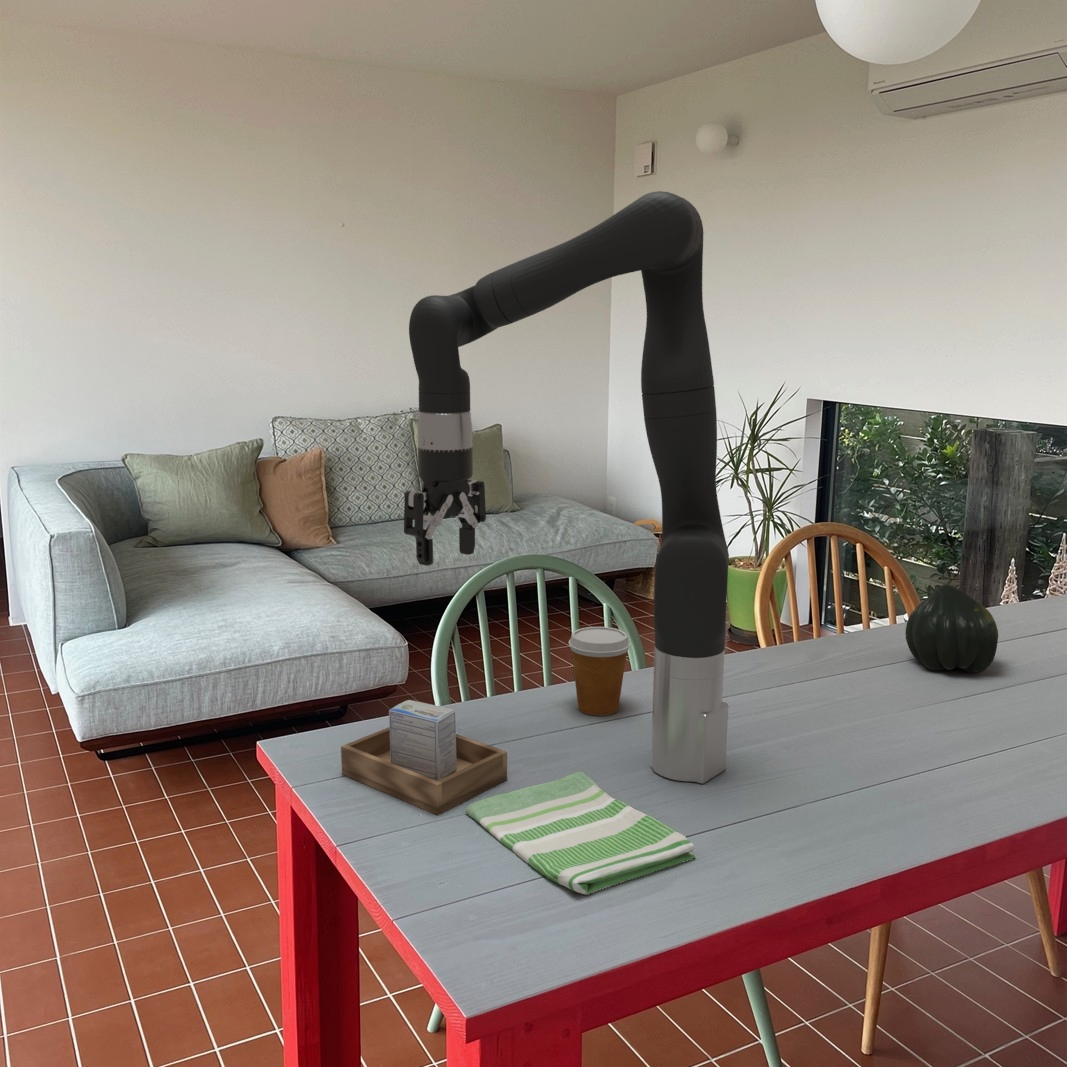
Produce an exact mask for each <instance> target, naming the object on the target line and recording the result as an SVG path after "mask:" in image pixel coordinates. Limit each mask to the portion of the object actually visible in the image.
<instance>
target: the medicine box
mask: <svg viewBox="0 0 1067 1067" xmlns="http://www.w3.org/2000/svg"><path fill="white" fill-rule="evenodd" d="M388 719H389V720H388V724H389V728H390V759H391V763H393V764H396V765H398V766H401V767H403V768H406V769H408V770H411V771H413V772H416V773H418V774H421V775H423V776H426V777H428V778H431V779H433V780H436V781H438V780H441V779H443V778H445V777H446V776H448V775H449V774H450V773H452V772H453V771H455V770H456V769H457V759H456V734H457V733H456V732H457V731H456V729H457V728H456V710H454V709H453V708H448V707H443V706H440V705H436V704H430V703H426V702H422V701H417V700H413V699H412V700H411V699H407V700H405V701H403V702H401V703H398V704H397V705H395V706H394V707H392V708H390V709H389V710H388Z"/></svg>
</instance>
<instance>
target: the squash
mask: <svg viewBox="0 0 1067 1067" xmlns="http://www.w3.org/2000/svg"><path fill="white" fill-rule="evenodd" d="M905 640H906V643H907V646H908V649H909V651H910V653H911V654H912V656H913V657H914V658H915V660H916V661H917V662H919V663H920V664H922V665H924V666H925V667H926V668H928V669H930V670H933V671H941V670H942V671H943V670H944V669H946V670H950V671H951V670H954V669H955V668H956V667H957V668H959V669H962V670H963V671H964V672H967V673H972V674H973V673H980V672H983V671H985V670H986V669H988V668H989V667H990V665H991V664H992V663H993V661H994V660H995V657H996V652H997V649H998V642H999V630H998V626H997V623H996V621H995V619H994V616H993V615H992V613H991V612H990V610H988V609H987V608H986V607H985V606H984V605H982V604H981V602H979V601H977V600H976V599H975V598H974V597H972V596H970V595H969V594H967V593H965V592H964V591H962V590H961V589H959V588H957V587H955V586H953V585H950V584H949V583H945V584H943V585H941V586H940V587H938V588H936V589H935V591H933V592H932V593H931V594H930V595H929V596H927V597H926V598H925V599H924V600H923V601H922V602H920V603H919V604H918V605H917V606H916V607H915V608H914V609H913V611H911V613H910V615H909V617H908V619H907V622H906V626H905Z"/></svg>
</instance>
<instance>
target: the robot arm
mask: <svg viewBox="0 0 1067 1067" xmlns="http://www.w3.org/2000/svg"><path fill="white" fill-rule="evenodd" d="M703 226H704V225H703V221H702V217H701V215H700V213H699V212H698V210H697V208H696V207H695V206H694V205H693V204H692V202H690V201H689V200H687V199H686V198H685V197H681V196H680V195H677V194H675V193H672V192H669V191H660V190H659V191H651V192H648V193H646V194H644V195H642V196H640V197H638V198H637V199H635V200H634V201H633V202H631V203H629V204H628V205H627V206H625V207H624V208H622V209H621V210H619V211H617V212H616V213H615V214H613V215H611V216H610V217H608V218H607V219H605V220H603V221H602V222H600V223H599V224H597V225H596V226H593V227H592V228H590V229H588V230H587V231H585V232H583V233H581V234H578V235H577V236H574V237H573V238H571V239H568V240H566V241H565V242H562V243H560V244H557V245H555V246H553V247H551V248H548V249H546V250H542V251H541V252H537V253H535V254H533V255H530V256H528V257H525V258H524V259H520V260H518V261H516V262H514V263H511V264H508V265H506V266H504V267H501V268H499V269H496V270H495V271H493V272H491V273H488V274H486V275H484V276H483V277H481V278H480V279H479V280H478V281H476V282H475V285H472V286H470V287H468V288H466V289H464V290H460V291H458V292H456V293H453V294H450V295H438V294H437V295H427V296H425V297H423V298H421V299H419V300H418V301H417V303H416V304H415V305H414V306H413V308H412V310H411V313H410V316H409V323H408V336H409V344H410V349H411V352H412V358H413V364H414V367H415V371H416V374H417V378H418V411H419V412H418V420H417V462H418V463H417V471H418V472H417V474H418V477H419V478H420V480H421V481H422V486H421V488H422V489H421V491H411V490H406V491H405V493H404V505H403V506H404V508H403V510H404V512H403V515H404V516H403V533H404V534H405V535H408V536H411V537H414V538H415V546H416V548H415V551H416V554H415V555H416V560H417V562H418V564H420V565H422V566H428V567H429V566H431V565H433V563H434V546H433V545H434V544H433V543H434V542H433V540H434V539H433V538H432V537H433V535H434V534H435V532H436V531H435V530H436V529H437V527H438V526H440V525H441V524H442V522H443V520H444V519H445V520H446V519H449V518H450V517H455V519H456V520H457V522H458V524H459V525H460V526H461V527H459V528H458V531H459V532H458V535H459V536H458V540H459V541H458V544H459V546H458V549H459V551H458V552H460V553H461V554H463V555H466V556H469V555H473V554H474V553H475V548H476V528H477V527H478V525H479V524H480V523H484V522H486V520H487V516H486V514H487V513H486V512H487V510H486V508H487V507H486V494H485V493H486V492H485V491H486V490H485V487H486V486H485V482H484V481H482V480H481V481H480V480H476V479H471V478H472V477H473V475H474V472H473V470H474V466H473V465H474V462H473V461H474V460H473V459H474V458H473V456H474V455H473V424H472V417H471V416H472V414H471V382H470V377H469V373H468V372H467V371H466V370H465V369H463V368H462V367H461V360H460V358H461V357H460V352H459V351H460V350H459V347H463V346H465V345H469V344H470V343H473V342H475V341H477V340H479V339H481V338H483V337H485V336H487V335H488V334H490V333H492V332H494V331H495V330H498V329H499V328H502V327H505V326H508V325H509V326H510V325H512V324H513V323H516V322H518V321H521V320H523V319H526V318H528V317H531V316H533V315H535V314H538V313H540V312H544V311H545V310H547V309H549V308H551V307H554V306H555V305H557V304H559V303H560V302H563V301H564V300H567V299H568V298H569V297H571V296H573V295H575V294H577V293H579V292H581V291H582V290H585V289H586V288H588V287H591V286H592V285H595V284H597V283H601V282H603V281H605V280H608V279H612V278H613V277H618V276H621V275H622V276H623V275H627V274H629V273H634V272H641V277H642V284H643V289H644V297H645V298H644V299H645V305H646V325H645V335H644V342H643V347H642V348H643V350H642V358H641V370H640V386H641V387H640V390H641V400H642V409H643V410H642V411H643V420H644V427H645V433H646V438H647V442H648V446H649V447H648V448H649V450H650V454H651V458H652V461H653V465H654V468H655V472H656V475H657V478H658V483H659V488H660V496H661V521H662V523H661V527H662V528H661V544H660V548H659V551H658V553H657V556H656V558H655V559H656V560H655V564H654V565H655V566H654V583H653V584H654V585H653V586H654V587H653V591H654V593H653V630H654V654H653V656H654V658H653V660H654V661H653V684H652V685H653V688H652V690H653V691H652V715H651V716H652V722H651V723H652V724H651V749H650V750H651V751H650V752H651V753H650V754H651V756H650V757H651V760H650V761H651V762H650V765H651V769H652V770H653V771H654V773H656V774H658V775H660V776H661V777H662V778H663V777H664V778H667V779H668V780H673V781H679V782H680V781H681V782H694V783H695V782H696V783H699V784H705V783H707V782H708V781H709V780H711V779H712V778H714V777H716V776H717V775H719V774H720V773H722V772H724V771H725V770H726V767H727V766H726V764H727V743H728V727H729V726H728V723H729V722H728V720H729V719H728V718H729V704H728V702H725V701H723V697H724V696H723V693H724V670H725V652H726V651H725V648H726V634H727V633H726V632H727V631H726V629H727V626H726V624H727V620H726V618H727V601H728V600H727V599H728V598H727V597H728V596H727V595H728V579H729V578H728V574H729V563H730V558H729V557H730V554H729V550H728V549H729V548H728V543H727V541H726V536H725V532H724V528H723V523H722V518H721V517H722V516H721V512H720V505H719V500H718V492H717V480H716V479H717V478H716V477H717V458H718V457H717V454H718V423H717V422H718V421H717V419H718V418H717V405H716V394H715V393H716V392H715V390H716V389H715V381H714V374H713V373H714V372H713V366H712V365H713V364H712V357H711V350H710V344H709V337H708V330H707V324H706V320H705V318H706V317H705V313H704V301H703V298H704V297H703V265H704V264H703V260H704V259H703V258H704V227H703ZM476 507H477V512H476ZM429 514H430V515H429ZM413 522H414V524H413ZM413 525H414V526H413Z"/></svg>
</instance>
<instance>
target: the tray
mask: <svg viewBox="0 0 1067 1067" xmlns="http://www.w3.org/2000/svg"><path fill="white" fill-rule="evenodd" d="M340 759H341V760H340V761H341V764H340V765H341V775H342V774H343V776H345V775H346V776H345V777H347V778H349V777H350V778H349V779H352V780H354V779H355V780H354V781H356V780H357V782H359V783H361V784H364V785H366V786H368V785H369V786H368V787H371V788H373V789H375V790H377V789H378V791H379V792H382V793H384V794H387V795H389V796H392V797H394V798H396V799H399V800H401V801H402V802H403V801H404V802H405V803H408V804H410V805H413V806H415V807H417V808H419V809H421V810H425V811H427V812H429V813H431V814H433V815H436V816H439V815H441V814H443V813H445V812H447V811H449V810H451V809H453V808H455V807H457V806H459V805H460V804H463V803H465V802H467V801H469V800H471V799H472V798H475V797H477V796H479V795H480V794H482V793H484V792H486V791H488V790H490V789H492V788H495V787H496V786H498V785H500V784H502V783H504V782H506V781H508V752H507V751H506V750H503V749H501V748H497V747H494V746H492V745H489V744H486V743H483V742H481V741H478V740H475V739H472V738H470V737H466V736H464V735H461V734H458V733H456V759H457V769H456V770H455V771H453V772H452V773H450V774H449V775H448V776H446V777H445V778H443V779H441V780H438V781H436V780H433V779H431V778H428V777H426V776H423V775H421V774H418V773H416V772H413V771H411V770H408V769H406V768H403V767H401V766H398V765H396V764H393V763H391V759H390V728H389V727H385V728H383V729H381V730H378V731H377V732H374V733H371V734H368V735H366V736H363V737H361V738H359V739H356V740H353V741H351V742H349V743H346V744H343V745H341V746H340Z"/></svg>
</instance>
